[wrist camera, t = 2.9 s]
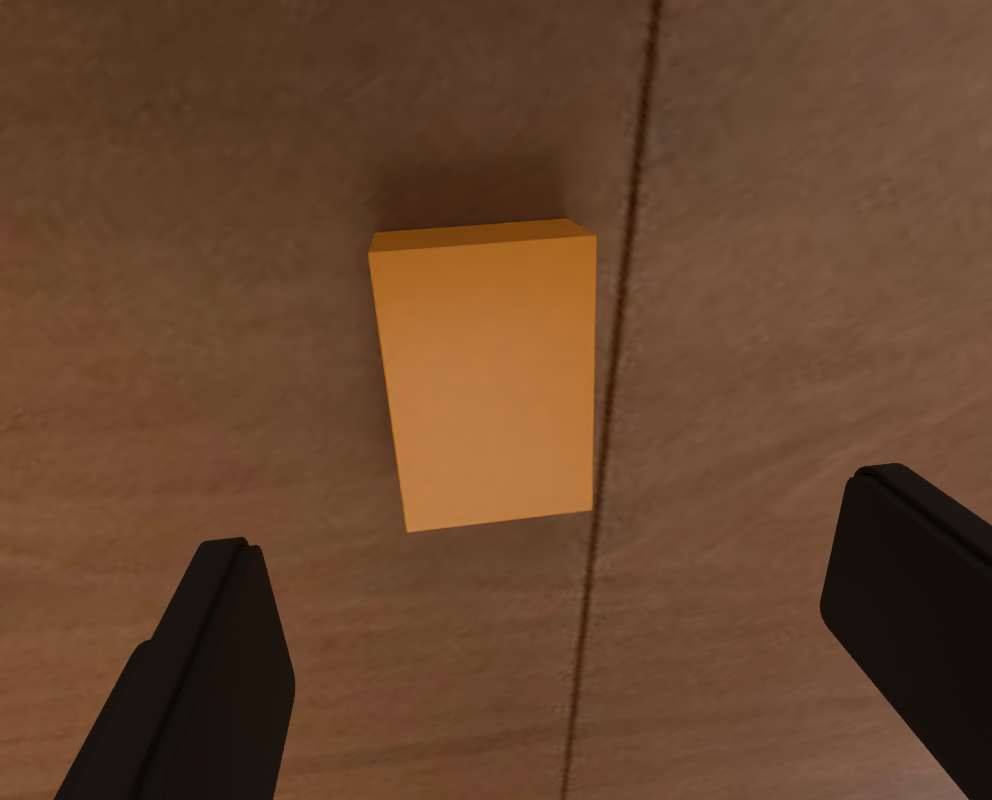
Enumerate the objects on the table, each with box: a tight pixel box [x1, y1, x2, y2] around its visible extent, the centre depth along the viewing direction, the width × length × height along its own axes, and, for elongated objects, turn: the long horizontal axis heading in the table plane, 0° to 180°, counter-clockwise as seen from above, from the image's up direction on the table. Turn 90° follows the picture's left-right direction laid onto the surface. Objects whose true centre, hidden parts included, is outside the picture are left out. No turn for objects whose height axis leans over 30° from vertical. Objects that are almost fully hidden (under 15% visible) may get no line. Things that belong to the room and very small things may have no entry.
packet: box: [368, 218, 597, 533], centre depth 17 cm, size 8×6×3 cm
